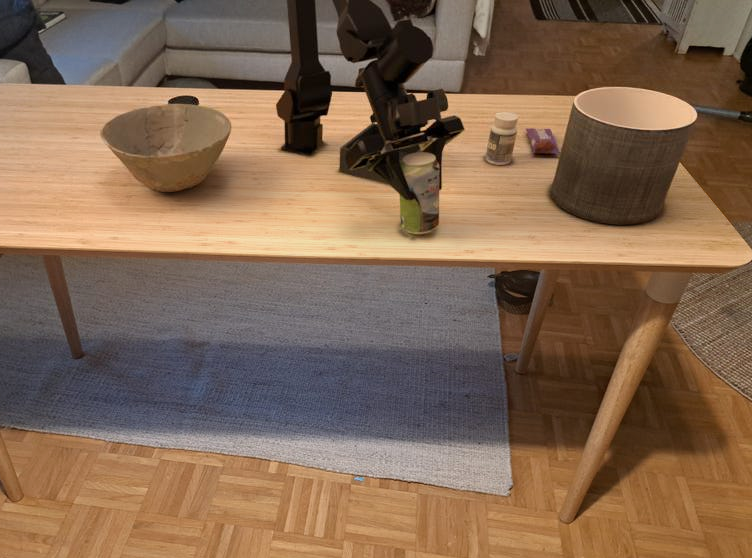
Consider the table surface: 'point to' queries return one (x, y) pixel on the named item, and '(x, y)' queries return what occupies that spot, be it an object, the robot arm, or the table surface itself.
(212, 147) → the ceramic bowl
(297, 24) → the robot arm
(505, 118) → the pill bottle
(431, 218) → the beverage can
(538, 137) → the snack package
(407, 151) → the square storage tray
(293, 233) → the table surface
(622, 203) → the planter
